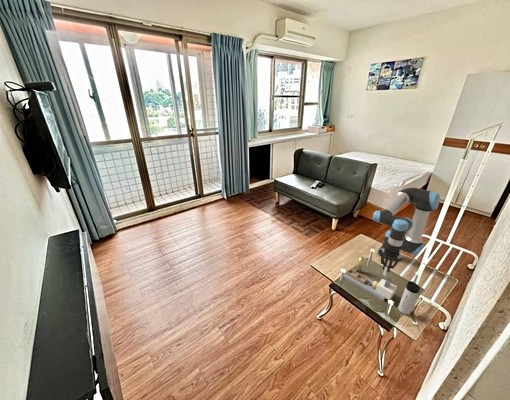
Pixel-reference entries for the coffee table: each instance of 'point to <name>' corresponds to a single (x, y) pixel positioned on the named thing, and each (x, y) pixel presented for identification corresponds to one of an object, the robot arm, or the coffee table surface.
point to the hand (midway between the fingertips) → (384, 274)
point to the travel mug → (408, 298)
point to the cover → (386, 288)
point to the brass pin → (360, 264)
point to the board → (362, 282)
